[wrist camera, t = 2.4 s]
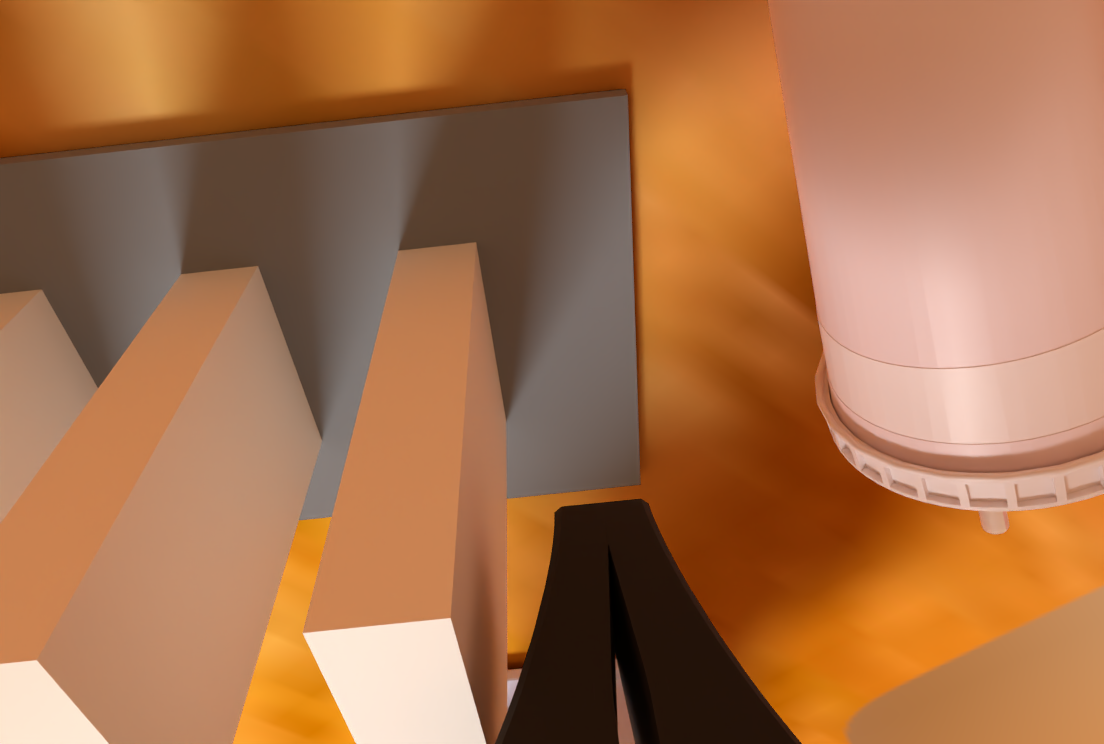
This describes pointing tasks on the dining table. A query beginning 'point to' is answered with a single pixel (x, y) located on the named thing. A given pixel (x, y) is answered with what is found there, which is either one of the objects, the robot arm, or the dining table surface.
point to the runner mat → (368, 258)
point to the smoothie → (955, 240)
